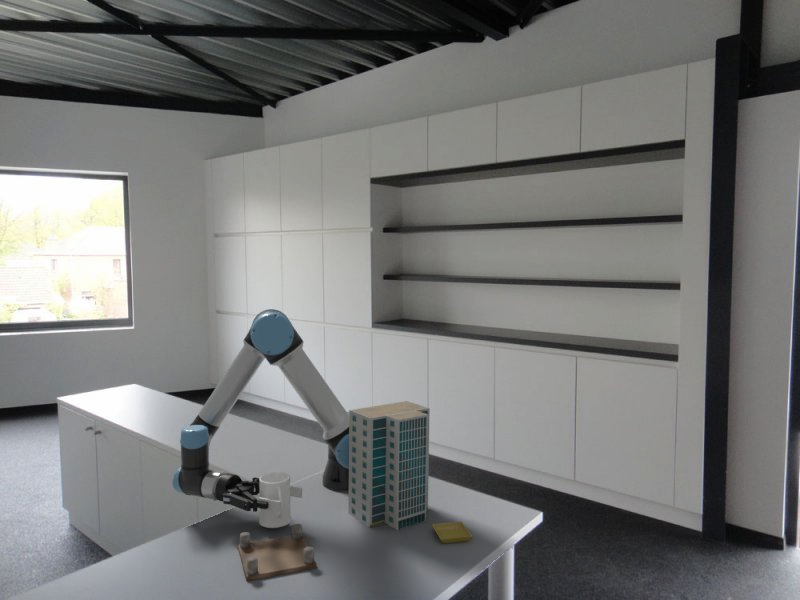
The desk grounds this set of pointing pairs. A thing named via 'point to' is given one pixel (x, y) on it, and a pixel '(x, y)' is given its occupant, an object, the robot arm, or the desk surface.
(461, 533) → the yellow square slab
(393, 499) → the building model
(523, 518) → the desk surface
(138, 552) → the desk surface
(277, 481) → the mug
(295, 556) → the board with corner pegs
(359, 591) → the desk surface
